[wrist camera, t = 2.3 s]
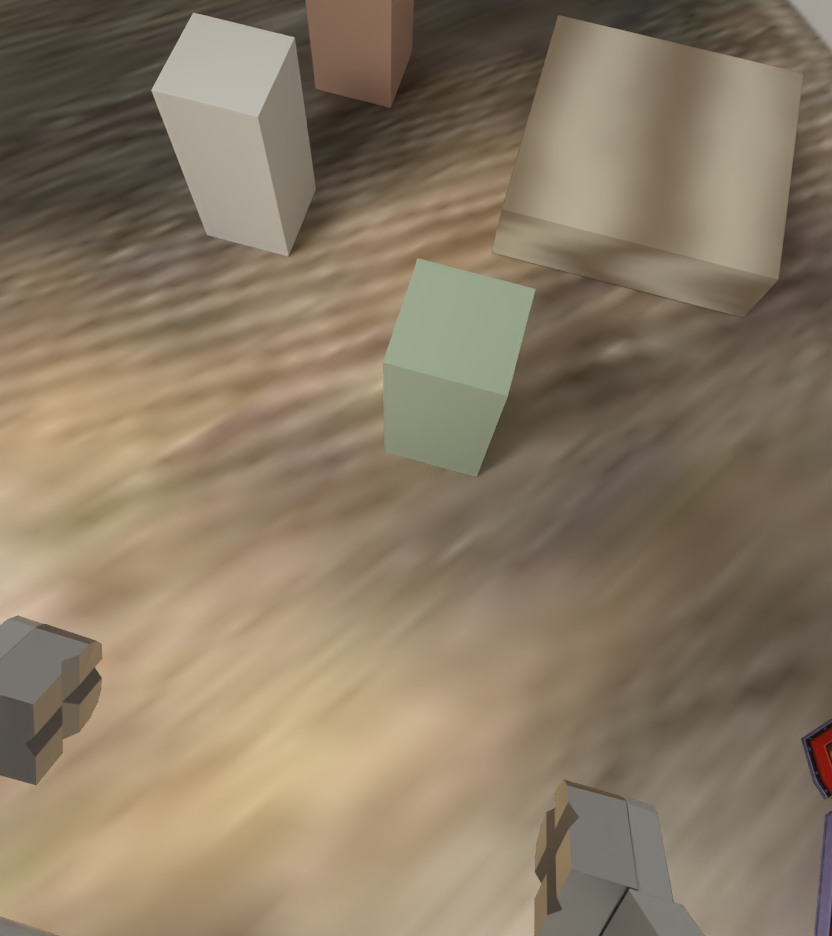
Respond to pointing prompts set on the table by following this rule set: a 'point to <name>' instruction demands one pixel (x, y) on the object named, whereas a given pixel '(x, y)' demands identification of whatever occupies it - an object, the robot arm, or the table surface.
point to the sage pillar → (451, 365)
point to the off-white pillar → (239, 130)
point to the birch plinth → (654, 168)
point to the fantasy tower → (828, 762)
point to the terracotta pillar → (360, 46)
